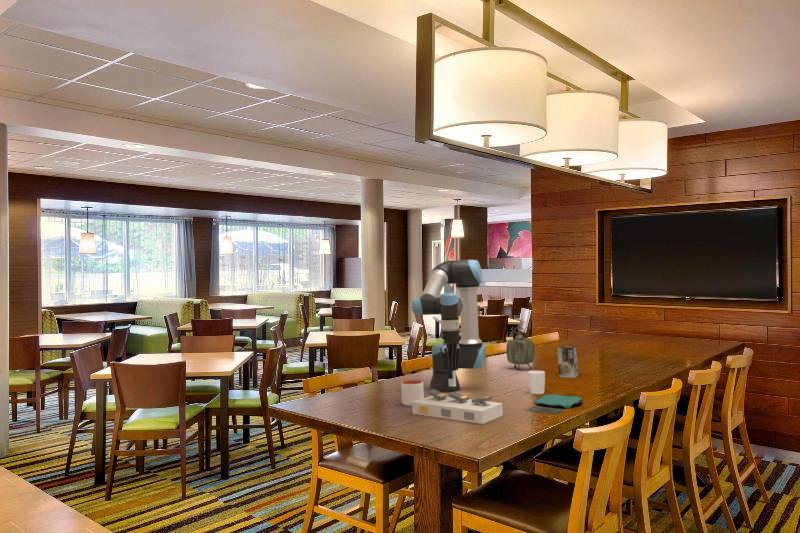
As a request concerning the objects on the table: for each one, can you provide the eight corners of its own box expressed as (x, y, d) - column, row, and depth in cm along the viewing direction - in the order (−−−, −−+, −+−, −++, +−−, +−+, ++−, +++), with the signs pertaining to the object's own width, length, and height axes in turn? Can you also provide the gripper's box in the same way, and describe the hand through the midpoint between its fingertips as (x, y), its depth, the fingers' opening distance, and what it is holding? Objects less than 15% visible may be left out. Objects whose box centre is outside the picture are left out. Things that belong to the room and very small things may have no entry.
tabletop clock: (535, 369, 355) (533, 326, 355) (527, 372, 348) (525, 328, 348) (514, 367, 365) (512, 325, 365) (505, 369, 358) (504, 327, 358)
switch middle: (448, 396, 254) (449, 393, 254) (454, 394, 258) (455, 391, 258) (462, 402, 250) (463, 398, 250) (468, 399, 254) (469, 396, 254)
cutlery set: (589, 401, 268) (589, 396, 268) (561, 417, 244) (560, 411, 244) (547, 397, 280) (547, 392, 280) (516, 412, 257) (516, 406, 257)
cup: (408, 407, 268) (407, 385, 268) (398, 403, 277) (397, 381, 277) (428, 404, 273) (427, 382, 273) (417, 401, 282) (416, 379, 282)
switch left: (427, 393, 261) (427, 390, 261) (433, 391, 265) (434, 388, 264) (440, 400, 257) (440, 397, 257) (446, 397, 261) (447, 395, 260)
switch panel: (412, 414, 256) (411, 400, 256) (434, 406, 269) (433, 393, 269) (482, 424, 235) (481, 409, 235) (502, 415, 248) (502, 401, 248)
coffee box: (578, 376, 329) (577, 346, 329) (575, 378, 324) (573, 347, 324) (561, 375, 334) (560, 345, 334) (558, 377, 329) (557, 347, 329)
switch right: (471, 403, 247) (471, 399, 247) (477, 400, 251) (477, 397, 251) (486, 401, 243) (485, 397, 243) (492, 399, 247) (491, 395, 247)
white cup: (546, 394, 285) (545, 373, 285) (528, 394, 286) (528, 373, 286) (545, 391, 293) (544, 370, 293) (528, 391, 294) (527, 370, 294)
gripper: (449, 331, 248) (451, 389, 248) (466, 328, 259) (468, 384, 258) (434, 331, 253) (436, 387, 253) (451, 328, 263) (453, 383, 263)
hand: (452, 386), depth 255 cm, fingers closed
